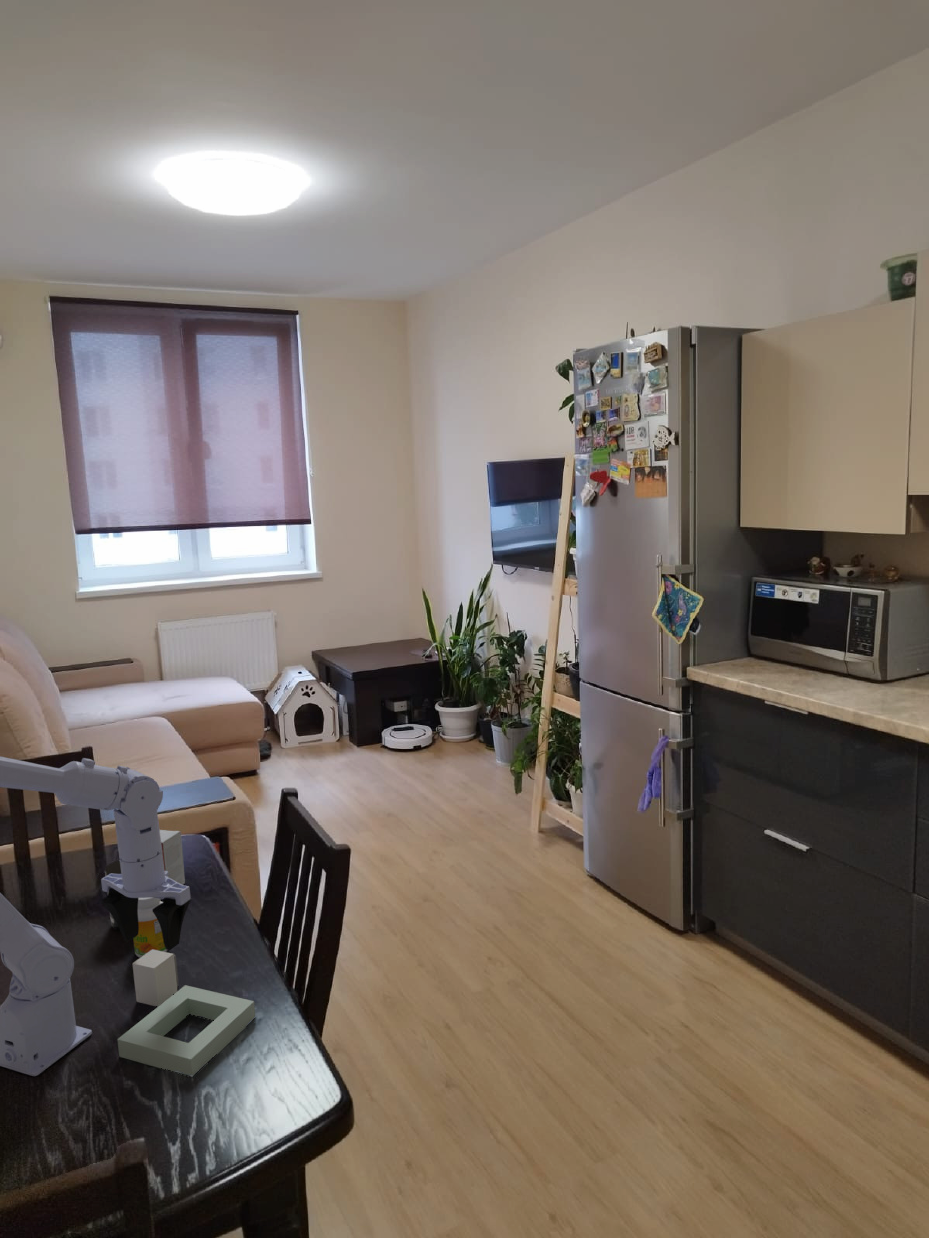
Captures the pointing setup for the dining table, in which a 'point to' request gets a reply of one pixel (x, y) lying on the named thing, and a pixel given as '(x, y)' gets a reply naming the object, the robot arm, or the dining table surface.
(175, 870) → the small box
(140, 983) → the plug
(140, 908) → the supplement bottle
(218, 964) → the dining table surface
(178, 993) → the socket board
